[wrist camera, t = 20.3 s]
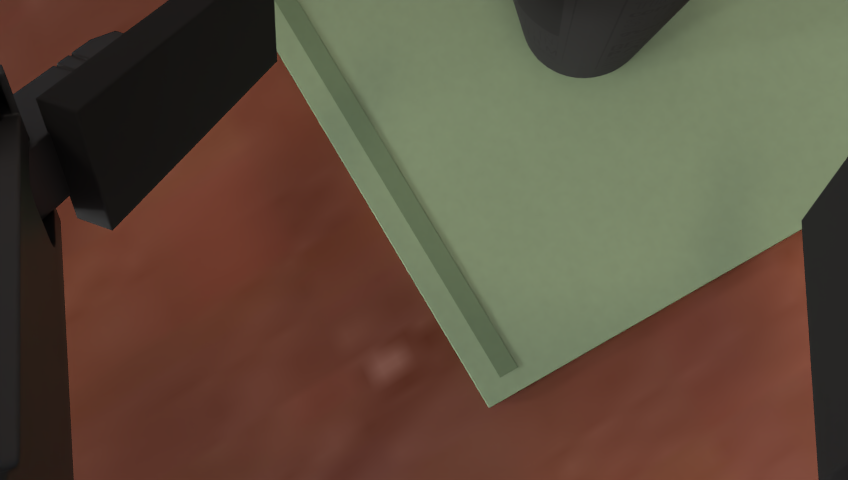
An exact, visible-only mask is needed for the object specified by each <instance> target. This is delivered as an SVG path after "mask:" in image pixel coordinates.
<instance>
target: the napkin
mask: <svg viewBox="0 0 848 480" xmlns="http://www.w3.org/2000/svg"><path fill="white" fill-rule="evenodd" d="M274 4H275V27H276V49H277V52H278V54H279V55H280V57H281V59H282V60H283V62H284V64H285V66H286V67H287V69H288V71H289V72H290V74H291V76H292V77H293V79H294V81H295V82H296V84H297V86H298V87H299V89H300V91H301V92H302V94H303V96H304V98H305V99H306V101H307V103H308V104H309V106H310V108H311V109H312V111H313V113H314V114H315V116H316V118H317V119H318V121H319V123H320V124H321V126H322V128H323V130H324V131H325V133H326V135H327V136H328V138H329V140H330V141H331V143H332V145H333V146H334V148H335V150H336V151H337V153H338V155H339V156H340V158H341V160H342V162H343V163H344V165H345V167H346V168H347V170H348V172H349V173H350V175H351V177H352V178H353V180H354V182H355V183H356V185H357V187H358V188H359V190H360V192H361V194H362V195H363V197H364V199H365V200H366V202H367V204H368V205H369V207H370V209H371V210H372V212H373V214H374V215H375V217H376V219H377V220H378V222H379V224H380V226H381V227H382V229H383V231H384V232H385V234H386V236H387V237H388V239H389V241H390V242H391V244H392V246H393V247H394V249H395V251H396V252H397V254H398V256H399V258H400V259H401V261H402V263H403V264H404V266H405V268H406V269H407V271H408V273H409V274H410V276H411V278H412V279H413V281H414V283H415V284H416V286H417V288H418V290H419V291H420V293H421V295H422V296H423V298H424V300H425V301H426V303H427V305H428V306H429V308H430V310H431V311H432V313H433V315H434V316H435V318H436V320H437V322H438V323H439V325H440V327H441V328H442V330H443V332H444V333H445V335H446V337H447V338H448V340H449V342H450V343H451V345H452V347H453V348H454V350H455V352H456V354H457V355H458V357H459V359H460V360H461V362H462V364H463V365H464V367H465V369H466V370H467V372H468V374H469V375H470V377H471V379H472V380H473V382H474V384H475V386H476V387H477V389H478V391H479V392H480V394H481V396H482V397H483V399H484V401H485V402H486V404H487V406H488V407H489V408H490V407H492V406H493V405H495V404H497V403H499V402H500V401H502V400H504V399H506V398H507V397H509V396H511V395H513V394H514V393H516V392H518V391H520V390H521V389H523V388H525V387H527V386H528V385H530V384H532V383H534V382H535V381H537V380H539V379H541V378H542V377H544V376H546V375H548V374H549V373H551V372H553V371H555V370H556V369H558V368H560V367H562V366H563V365H565V364H567V363H569V362H570V361H572V360H574V359H576V358H577V357H579V356H581V355H583V354H584V353H586V352H588V351H590V350H591V349H593V348H595V347H597V346H598V345H600V344H602V343H604V342H605V341H607V340H609V339H611V338H612V337H614V336H616V335H617V334H619V333H621V332H623V331H624V330H626V329H628V328H630V327H631V326H633V325H635V324H637V323H638V322H640V321H642V320H644V319H645V318H647V317H649V316H651V315H652V314H654V313H656V312H658V311H659V310H661V309H663V308H665V307H666V306H668V305H670V304H672V303H673V302H675V301H677V300H679V299H680V298H682V297H684V296H686V295H687V294H689V293H691V292H693V291H694V290H696V289H698V288H700V287H701V286H703V285H705V284H707V283H708V282H710V281H712V280H714V279H715V278H717V277H719V276H721V275H722V274H724V273H726V272H728V271H729V270H731V269H733V268H735V267H736V266H738V265H740V264H742V263H743V262H745V261H747V260H749V259H750V258H752V257H754V256H756V255H757V254H759V253H761V252H763V251H764V250H766V249H768V248H770V247H771V246H773V245H775V244H777V243H778V242H780V241H782V240H784V239H785V238H787V237H789V236H791V235H792V234H794V233H796V232H798V231H799V230H801V229H802V221H801V220H802V219H803V218H804V216H805V215H806V214H807V212H808V211H809V209H810V208H811V207H812V205H813V204H814V202H815V201H816V200H817V198H818V197H819V196H820V194H821V193H822V191H823V190H824V189H825V187H826V186H827V185H828V183H829V182H830V180H831V179H832V178H833V176H834V175H835V173H836V172H837V171H838V169H839V168H840V167H841V165H842V164H843V162H844V161H845V160H846V158H847V157H848V0H690V1H689V2H688V3H687V4H686V5H685V6H684V7H683V8H682V9H681V10H680V11H679V12H678V13H677V14H676V15H675V16H673V17H672V18H671V19H670V20H669V21H668V22H667V23H666V24H665V25H664V26H663V27H662V28H661V29H660V30H659V31H658V32H657V33H656V34H655V35H654V36H653V37H652V38H651V39H650V40H649V41H648V42H647V43H646V44H645V45H644V46H643V47H642V48H641V49H640V50H639V51H638V52H637V53H636V54H635V55H634V56H633V57H632V58H631V59H630V60H629V61H628V62H627V63H625V64H624V65H623V66H621V67H620V68H618V69H617V70H615V71H613V72H610V73H608V74H605V75H602V76H598V77H593V78H574V77H569V76H565V75H562V74H559V73H557V72H555V71H553V70H551V69H549V68H548V67H546V66H545V65H544V64H543V63H541V62H540V61H539V60H538V59H537V58H536V56H535V55H534V54H533V52H532V51H531V50H530V48H529V46H528V44H527V42H526V40H525V37H524V34H523V31H522V27H521V24H520V21H519V18H518V15H517V11H516V8H515V5H514V2H513V0H274Z"/></svg>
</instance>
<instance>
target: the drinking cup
mask: <svg viewBox="0 0 848 480" xmlns="http://www.w3.org/2000/svg"><path fill="white" fill-rule="evenodd" d="M689 1H690V0H513V2H514V5H515V8H516V11H517V15H518V18H519V21H520V24H521V27H522V31H523V34H524V37H525V40H526V42H527V44H528V46H529V48H530V50H531V51H532V52H533V54H534V55H535V56H536V58H537V59H538V60H539V61H540V62H541V63H543V64H544V65H545V66H546V67H548V68H549V69H551V70H553V71H555V72H557V73H559V74H562V75H565V76H569V77H574V78H593V77H598V76H602V75H605V74H608V73H610V72H613V71H615V70H617V69H618V68H620V67H621V66H623V65H624V64H625V63H627V62H628V61H629V60H630V59H631V58H632V57H633V56H634V55H635V54H636V53H637V52H638V51H639V50H640V49H641V48H642V47H643V46H644V45H645V44H646V43H647V42H648V41H649V40H650V39H651V38H652V37H653V36H654V35H655V34H656V33H657V32H658V31H659V30H660V29H661V28H662V27H663V26H664V25H665V24H666V23H667V22H668V21H669V20H670V19H671V18H672V17H673V16H675V15H676V14H677V13H678V12H679V11H680V10H681V9H682V8H683V7H684V6H685V5H686V4H687V3H688V2H689Z"/></svg>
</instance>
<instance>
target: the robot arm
mask: <svg viewBox="0 0 848 480" xmlns="http://www.w3.org/2000/svg"><path fill="white" fill-rule="evenodd" d="M276 62H277V49H276V27H275V4H274V0H169V1H167V2H166V3H165V4H163V5H162V6H160V7H159V8H158V9H156V10H155V11H154V12H152V13H151V14H150V15H148V16H147V17H145V18H144V19H143V20H141V21H140V22H139V23H137V24H136V25H135V26H133V27H132V28H131V29H129V30H128V31H126V32H125V33H121V32H117V31H114V32H111V33H108V34H105V35H102V36H100V37H97V38H94V39H91V40H89V41H88V42H87V43H85V44H84V45H82V46H81V47H79V48H78V49H77V50H75V51H74V52H72V56H69V55H68V56H67V57H65V58H64V59H63V60H61V61H60V62H58V63H57V66H56V67H55V66H53V67H51V68H50V69H48V70H47V71H46V72H44V73H43V74H41V75H40V76H39V77H37V78H36V79H34V80H33V81H32V82H30V83H29V84H27V85H26V86H24V87H23V88H22V89H20V90H19V91H17V92H16V93H15V94H13V93H12V91H11V88H10V85H9V83H8V80H7V77H6V75H5V72H4V70H3V67H2V65H0V480H74V479H73V459H72V439H71V419H70V399H69V379H68V360H67V340H66V320H65V300H64V280H63V260H62V240H61V221H60V218H59V215H58V213H57V210H56V207H57V206H59V205H60V204H61V203H62V202H63V201H64V200H65V199H66V198H67V197H68V196H69V195H70V198H71V201H72V204H73V206H74V209H75V212H76V215H77V218H79V219H82V220H85V221H87V222H90V223H93V224H96V225H99V226H101V227H104V228H107V229H110V230H113V229H114V228H115V227H116V226H117V225H118V224H119V223H120V222H121V221H122V220H123V219H124V218H125V217H126V216H127V215H128V214H129V213H130V212H131V211H132V210H133V209H134V208H135V207H136V206H137V205H138V204H139V203H140V202H141V200H142V199H143V198H144V197H145V196H146V195H147V194H148V193H149V192H150V191H151V190H152V189H153V188H154V187H155V186H156V185H157V184H158V183H159V182H160V181H161V180H162V179H163V178H164V177H165V176H166V175H167V174H168V173H169V172H170V171H171V170H172V169H173V168H174V167H175V166H176V164H177V163H178V162H179V161H180V160H181V159H182V158H183V157H184V156H185V155H186V154H187V153H188V152H189V151H190V150H191V149H192V148H193V147H194V146H195V145H196V144H197V143H198V142H199V141H200V140H201V139H202V138H203V137H204V136H205V135H206V134H207V133H208V132H209V131H210V130H211V128H212V127H213V126H214V125H215V124H216V123H217V122H218V121H219V120H220V119H221V118H222V117H223V116H224V115H225V114H226V113H227V112H228V111H229V110H230V109H231V108H232V107H233V106H234V105H235V104H236V103H237V102H238V101H239V100H240V99H241V98H242V97H243V96H244V95H245V94H246V92H247V91H248V90H249V89H250V88H251V87H252V86H253V85H254V84H255V83H256V82H257V81H258V80H259V79H260V78H261V77H262V76H263V75H264V74H265V73H266V72H267V71H268V70H269V69H270V68H271V67H272V66H273V65H274V64H275V63H276ZM801 221H802V236H803V251H804V266H805V281H806V296H807V311H808V326H809V341H810V356H811V371H812V386H813V401H814V416H815V431H816V446H817V461H818V476H819V480H848V157H847V158H846V160H845V161H844V162H843V164H842V165H841V167H840V168H839V169H838V171H837V172H836V173H835V175H834V176H833V178H832V179H831V180H830V182H829V183H828V185H827V186H826V187H825V189H824V190H823V191H822V193H821V194H820V196H819V197H818V198H817V200H816V201H815V202H814V204H813V205H812V207H811V208H810V209H809V211H808V212H807V214H806V215H805V216H804V218H803V219H802V220H801Z"/></svg>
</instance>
